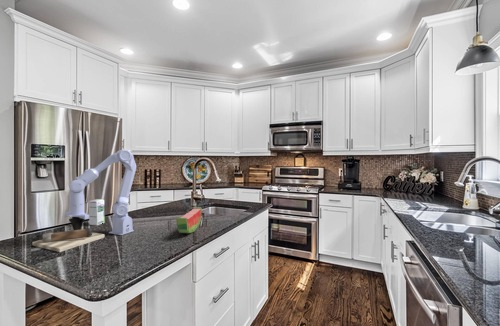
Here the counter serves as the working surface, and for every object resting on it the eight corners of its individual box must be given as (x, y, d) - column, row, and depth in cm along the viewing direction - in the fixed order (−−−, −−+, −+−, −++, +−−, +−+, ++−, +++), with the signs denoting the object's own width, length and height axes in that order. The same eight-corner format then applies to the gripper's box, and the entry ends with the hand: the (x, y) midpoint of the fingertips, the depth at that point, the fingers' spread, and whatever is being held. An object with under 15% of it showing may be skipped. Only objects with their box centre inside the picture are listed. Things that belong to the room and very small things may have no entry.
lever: (41, 242, 106) (41, 235, 106) (43, 240, 109) (43, 233, 109) (91, 235, 115) (91, 229, 115) (92, 233, 118) (92, 227, 118)
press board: (104, 237, 119) (104, 234, 119) (59, 252, 100) (59, 248, 100) (78, 232, 127) (78, 229, 127) (32, 245, 108) (32, 241, 108)
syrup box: (97, 225, 140) (97, 200, 139) (88, 224, 141) (88, 200, 141) (105, 222, 145) (104, 199, 145) (96, 222, 146) (96, 198, 146)
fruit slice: (192, 223, 144) (192, 207, 144) (202, 223, 143) (202, 207, 143) (175, 238, 118) (175, 218, 118) (187, 238, 117) (187, 218, 117)
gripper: (58, 204, 115) (58, 232, 115) (78, 207, 109) (78, 236, 109) (74, 202, 121) (74, 228, 121) (93, 204, 116) (93, 232, 116)
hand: (77, 232), depth 116 cm, fingers closed
